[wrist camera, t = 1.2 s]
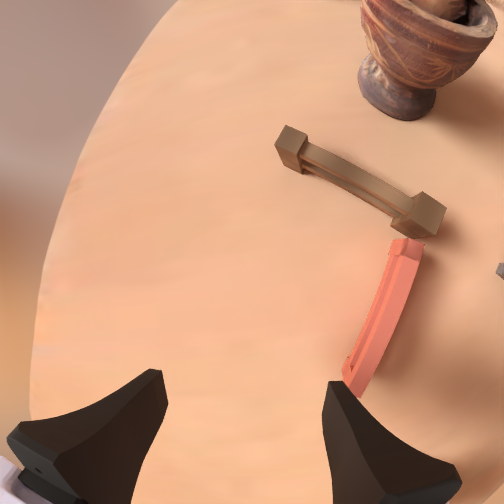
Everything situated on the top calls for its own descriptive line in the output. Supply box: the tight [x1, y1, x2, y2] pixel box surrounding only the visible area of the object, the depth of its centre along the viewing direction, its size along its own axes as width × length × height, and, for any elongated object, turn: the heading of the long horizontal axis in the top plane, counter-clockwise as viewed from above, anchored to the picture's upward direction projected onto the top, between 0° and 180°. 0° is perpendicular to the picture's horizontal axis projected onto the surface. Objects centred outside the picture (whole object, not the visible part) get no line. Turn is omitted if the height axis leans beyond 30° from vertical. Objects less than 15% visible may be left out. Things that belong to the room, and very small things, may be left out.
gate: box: [342, 238, 425, 398], centre depth 19 cm, size 11×1×4 cm, turn 161°
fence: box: [274, 125, 504, 280], centre depth 16 cm, size 34×3×6 cm, turn 61°
